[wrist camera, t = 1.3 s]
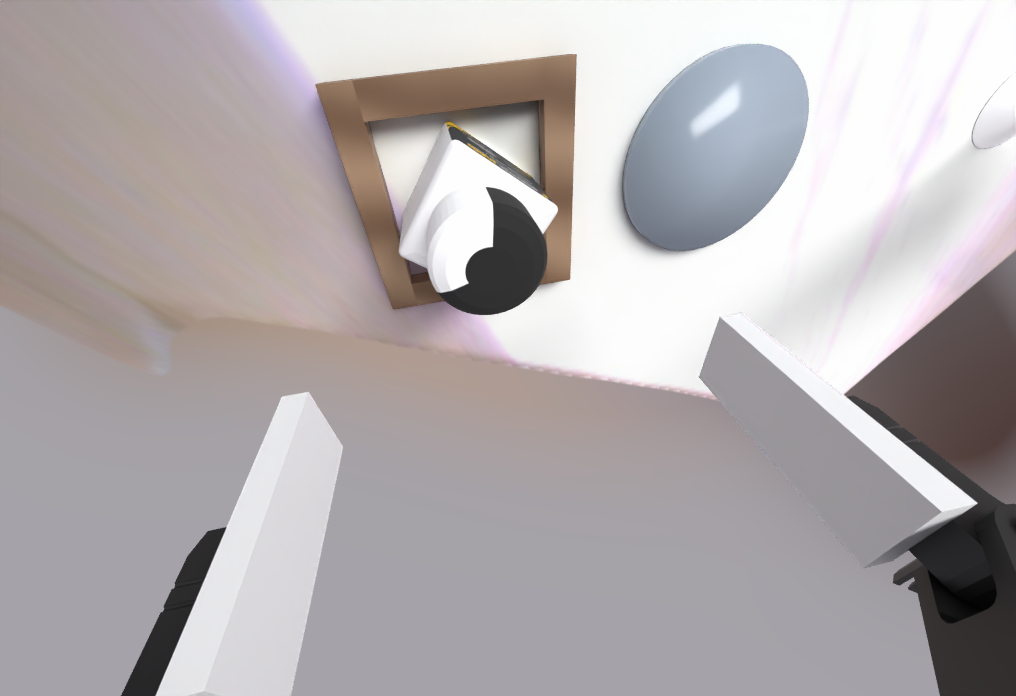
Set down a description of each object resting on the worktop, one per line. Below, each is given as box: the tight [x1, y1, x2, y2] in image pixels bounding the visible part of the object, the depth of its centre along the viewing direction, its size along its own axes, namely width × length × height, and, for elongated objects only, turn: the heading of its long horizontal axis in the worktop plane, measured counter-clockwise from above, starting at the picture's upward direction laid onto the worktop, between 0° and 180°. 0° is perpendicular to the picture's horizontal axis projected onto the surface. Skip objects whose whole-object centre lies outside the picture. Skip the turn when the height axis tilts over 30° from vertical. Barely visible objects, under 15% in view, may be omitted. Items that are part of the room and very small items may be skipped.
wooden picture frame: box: [315, 54, 577, 309], centre depth 26 cm, size 15×15×2 cm
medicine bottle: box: [399, 121, 558, 315], centre depth 22 cm, size 7×7×12 cm
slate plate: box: [623, 44, 809, 251], centre depth 28 cm, size 14×14×1 cm
